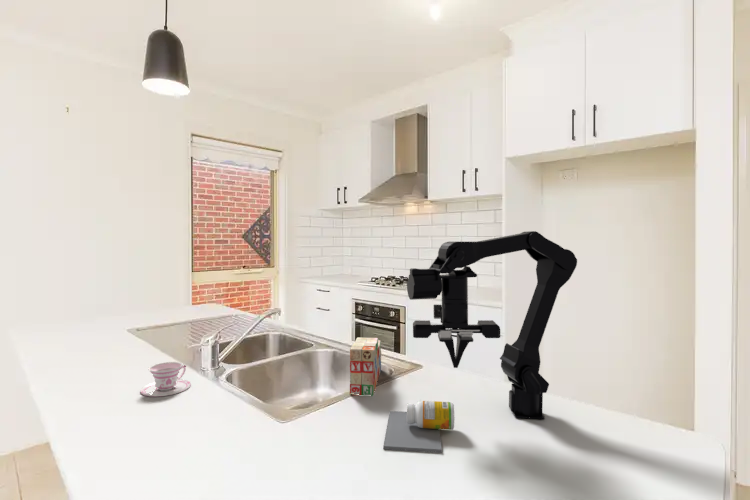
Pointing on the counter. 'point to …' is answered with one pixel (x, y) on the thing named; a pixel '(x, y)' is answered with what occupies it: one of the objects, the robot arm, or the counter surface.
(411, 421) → the supplement bottle
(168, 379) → the teacup
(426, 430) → the charcoal mat
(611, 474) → the counter surface
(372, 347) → the stack of blocks
